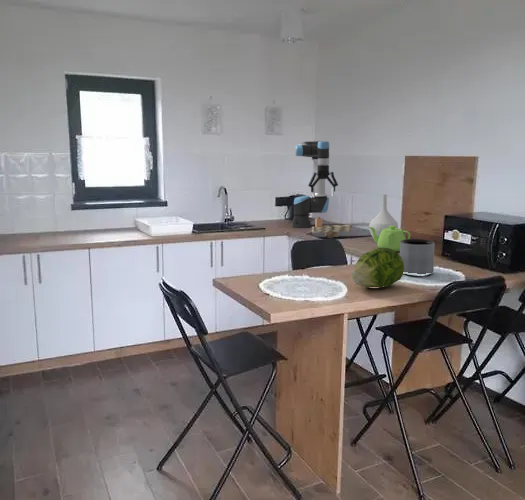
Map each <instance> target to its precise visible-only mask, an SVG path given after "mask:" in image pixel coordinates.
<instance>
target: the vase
mask: <svg viewBox="0 0 525 500" xmlns="http://www.w3.org/2000/svg"><path fill="white" fill-rule="evenodd" d="M387 196H388V195H387V194H382V196H381V197H382V198H381V209H380V211H379V212H378V214H377V215H376V216H374V218H373V219H372V220H370V222H369V225H368V230H369V233H370V236H371V237H372V238H373V233H372V230H371V229H370V228H369V227H373V228H374V229H375V231H376V235H377V236H378V237H379V236H380V234H381V232H382V230H383V229H385V228H390V227H389V226H396V228H398V229H399V224H398V221H397V220H396V219H395V218H394V217H393V216H392V215H391V213H390V212H389V211H388V209H387V208H388V207H387V204H388V203H387V202H388V201H387V199H388V198H387Z"/></svg>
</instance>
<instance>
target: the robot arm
mask: <svg viewBox="0 0 525 500" xmlns="http://www.w3.org/2000/svg"><path fill="white" fill-rule="evenodd" d="M295 156H296V157H304V158H311V160H312V162H313V172H312V176H311V179H310V181H309V183H308V185H307V186H308V187H310V191H311V192H310V193H312V194H311V197H310V195H302V196H301V195H300V196H297V197H294V200H293V219H292V222H291V228H296V229H297V228H299V229H302V228H303V229H305V228H312V222H311V218H310V214H314V213H315V214H317V213H318V214H322V213H327V212H328V210H329V209H328V208H329V204H330V203H329V201H330V198H329V197H328V194H326V180H327V181H328V182H329V184H330V185H331V197H333V198H334V197H335V192H336V187H337V186H339V184H338V181H337V179H336V178H335V173H334V172H333V171H331V172H330V165H329V164H330V142H329V141H327V140H325V141H324V140H322V141H321V140H319V141H318V140H316V141H315V140H313V141H308V140H307V141H302V142H300V143H298V144H297V145H295ZM329 175H330V177H331V178H330V177H329Z"/></svg>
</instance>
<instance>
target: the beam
mask: <svg viewBox="0 0 525 500" xmlns="http://www.w3.org/2000/svg"><path fill="white" fill-rule="evenodd" d="M351 231H352V225H350V224H338V225H337V224H335V225H334V224H333V225H332V224H331V225H322V227H315V226H314V225H313V226H312V225H311V232H312V233H314V234H319V233H320V234H321V233H322V234H323V233H324V234H325V235H324V236H325V237H326V236H327V237H326V238H328V239H332V238H331V237H338V236H339V235H338V234H339V233H340V232H342V233H343V232H351ZM338 238H339V237H338Z"/></svg>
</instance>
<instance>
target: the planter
mask: <svg viewBox="0 0 525 500" xmlns="http://www.w3.org/2000/svg"><path fill="white" fill-rule="evenodd" d="M435 244H436V243H435V241H433V240H430V239H425V238H423V239H421V238H410V239H408V238H406V239H405V240H401V241H400V251H399V255H400V256H401V258H402V260H403V263H404V272H408V273H417V274H426V273H432V272H433V273H434V271H435V270H434V268H435V267H434V266H435ZM433 273H432V274H433Z"/></svg>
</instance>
